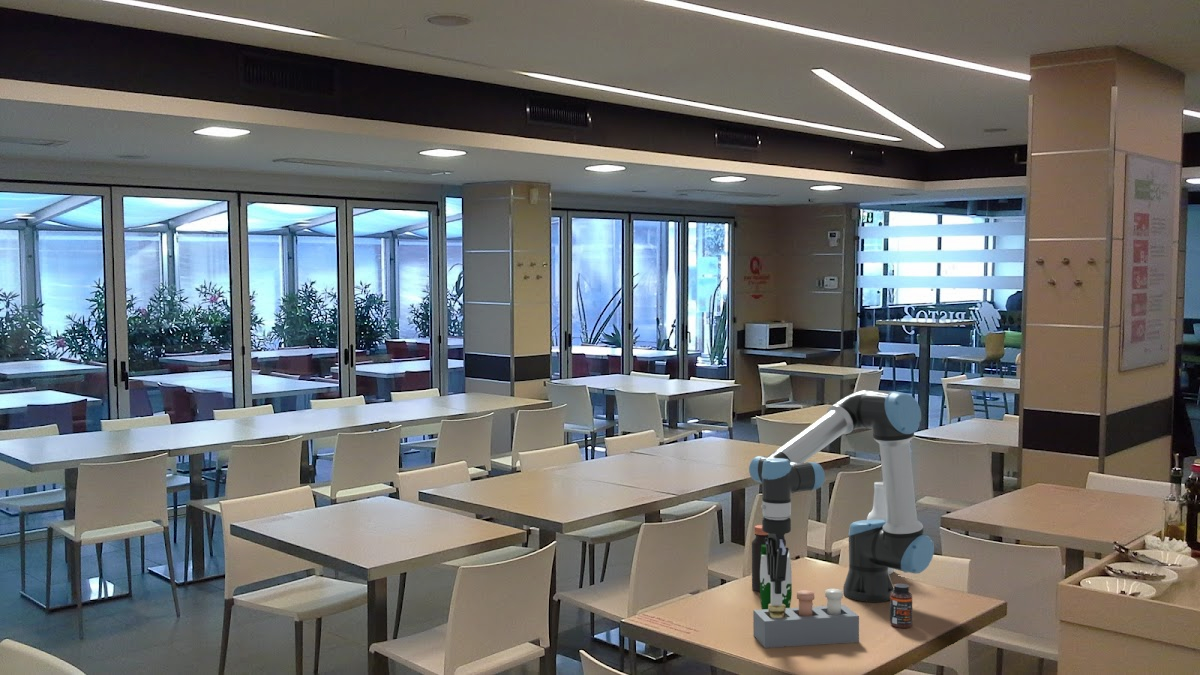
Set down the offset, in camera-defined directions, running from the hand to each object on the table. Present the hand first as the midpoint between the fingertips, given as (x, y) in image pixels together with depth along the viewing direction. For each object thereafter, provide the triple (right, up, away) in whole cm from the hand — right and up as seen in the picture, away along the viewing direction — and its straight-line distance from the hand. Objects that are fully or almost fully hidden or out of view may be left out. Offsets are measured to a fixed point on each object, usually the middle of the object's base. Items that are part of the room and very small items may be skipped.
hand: (776, 604), depth 269 cm
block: (+8, -10, +2) cm, 13 cm away
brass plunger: (0, -8, 0) cm, 8 cm away
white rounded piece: (+16, -4, +3) cm, 17 cm away
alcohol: (+47, -7, +68) cm, 83 cm away
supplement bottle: (+37, -9, +12) cm, 40 cm away
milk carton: (+4, -9, +23) cm, 25 cm away
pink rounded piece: (+8, -4, +1) cm, 9 cm away
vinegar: (+4, -8, +49) cm, 49 cm away
